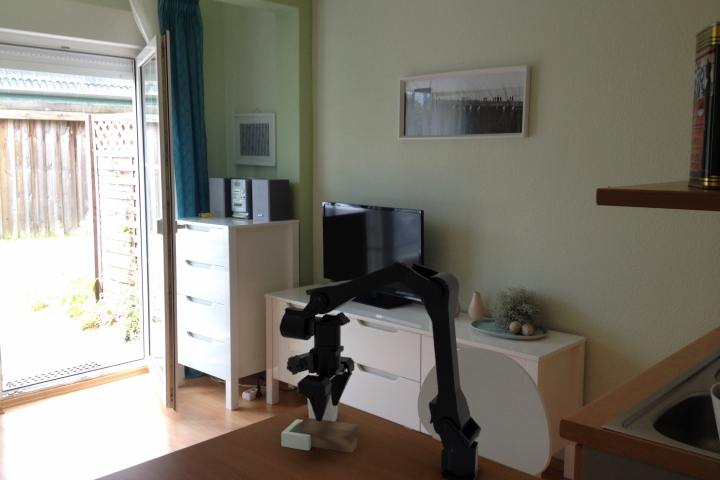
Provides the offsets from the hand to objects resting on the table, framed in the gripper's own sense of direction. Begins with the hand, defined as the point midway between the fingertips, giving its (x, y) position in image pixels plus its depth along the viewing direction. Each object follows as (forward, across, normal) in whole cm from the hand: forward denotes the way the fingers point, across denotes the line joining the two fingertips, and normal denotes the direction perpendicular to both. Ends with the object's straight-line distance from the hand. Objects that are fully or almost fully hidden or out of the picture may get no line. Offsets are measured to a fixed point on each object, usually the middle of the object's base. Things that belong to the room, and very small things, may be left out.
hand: (327, 413), depth 140 cm
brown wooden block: (+7, 0, 0) cm, 7 cm away
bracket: (+7, 0, -5) cm, 9 cm away
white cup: (+7, -13, -6) cm, 16 cm away
